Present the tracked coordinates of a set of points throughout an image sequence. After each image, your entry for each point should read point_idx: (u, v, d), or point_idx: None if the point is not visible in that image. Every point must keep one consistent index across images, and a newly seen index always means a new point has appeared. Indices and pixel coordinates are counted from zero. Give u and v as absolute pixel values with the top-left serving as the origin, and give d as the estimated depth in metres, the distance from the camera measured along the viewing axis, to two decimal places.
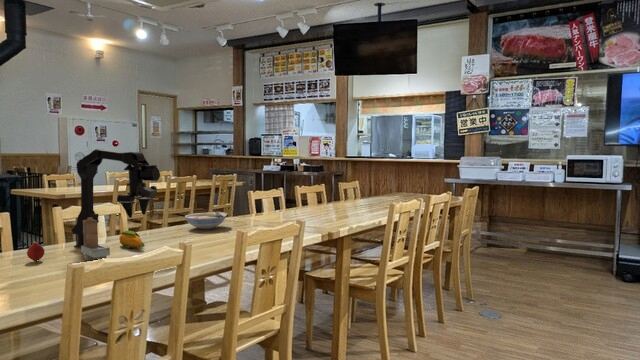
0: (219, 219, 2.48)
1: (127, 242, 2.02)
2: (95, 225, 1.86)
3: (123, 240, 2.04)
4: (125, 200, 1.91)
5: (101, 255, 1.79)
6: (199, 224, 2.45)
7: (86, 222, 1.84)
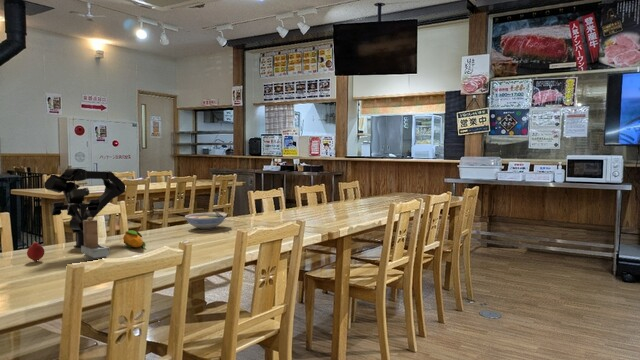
0: (219, 219, 2.48)
1: (129, 242, 2.02)
2: (95, 225, 1.86)
3: (126, 240, 2.05)
4: (53, 207, 1.90)
5: (101, 255, 1.79)
6: (199, 224, 2.45)
7: (86, 222, 1.84)
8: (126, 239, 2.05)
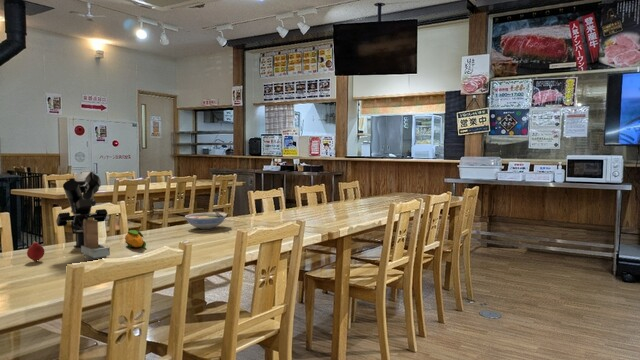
0: (219, 219, 2.48)
1: (129, 242, 2.02)
2: (95, 225, 1.85)
3: (127, 239, 2.05)
4: (58, 218, 1.85)
5: (101, 255, 1.79)
6: (199, 224, 2.45)
7: (86, 222, 1.84)
8: (127, 239, 2.05)
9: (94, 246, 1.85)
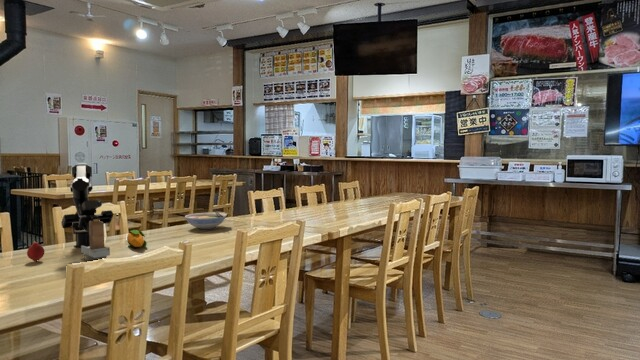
0: (219, 219, 2.48)
1: (130, 242, 2.03)
2: (101, 227, 1.81)
3: (128, 239, 2.06)
4: (64, 220, 1.80)
5: (101, 255, 1.79)
6: (199, 224, 2.45)
7: (92, 224, 1.79)
8: (129, 239, 2.05)
9: None
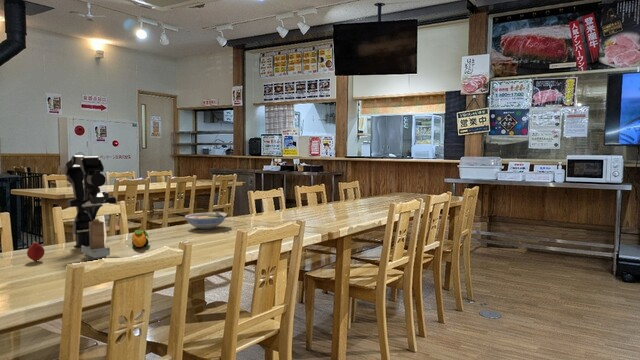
0: (219, 219, 2.48)
1: (133, 242, 2.03)
2: (101, 227, 1.81)
3: (132, 239, 2.07)
4: (69, 205, 1.90)
5: (101, 255, 1.79)
6: (199, 224, 2.45)
7: (92, 224, 1.79)
8: (132, 238, 2.06)
9: None
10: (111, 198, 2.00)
